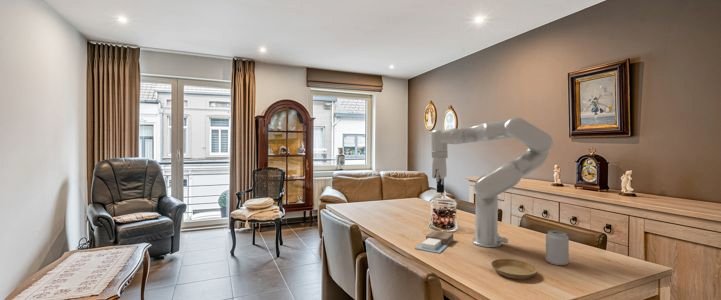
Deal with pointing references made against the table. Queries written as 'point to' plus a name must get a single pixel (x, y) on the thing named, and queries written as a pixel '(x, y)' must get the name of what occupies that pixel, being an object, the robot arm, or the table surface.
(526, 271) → the plant saucer
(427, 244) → the tile
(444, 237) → the step
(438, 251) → the mat
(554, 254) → the can
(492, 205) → the robot arm
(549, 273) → the table surface
